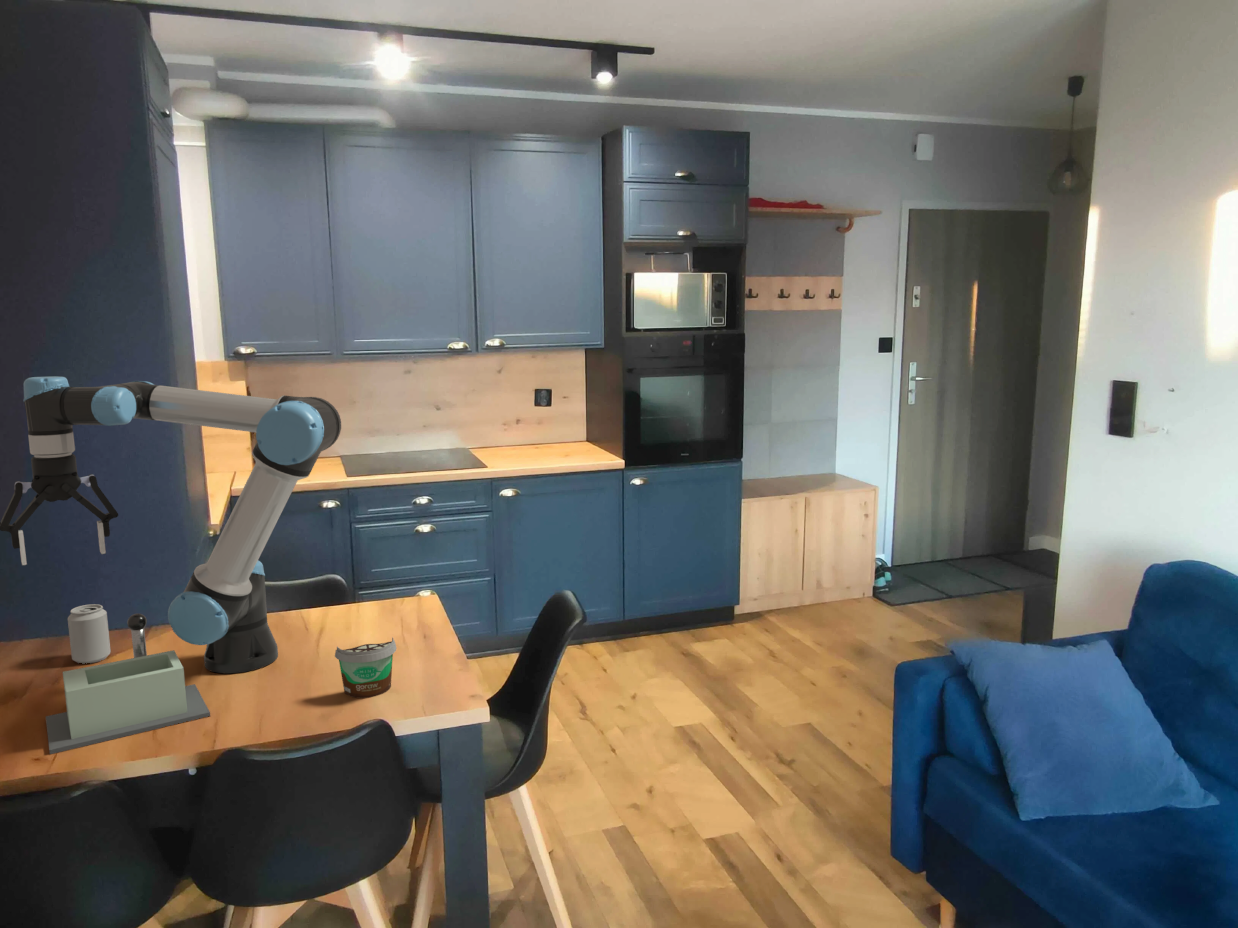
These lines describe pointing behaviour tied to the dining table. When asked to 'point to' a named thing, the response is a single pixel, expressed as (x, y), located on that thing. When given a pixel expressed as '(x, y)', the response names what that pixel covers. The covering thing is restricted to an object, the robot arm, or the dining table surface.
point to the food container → (366, 669)
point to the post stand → (138, 634)
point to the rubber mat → (62, 737)
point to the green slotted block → (124, 693)
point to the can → (89, 634)
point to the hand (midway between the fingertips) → (64, 558)
